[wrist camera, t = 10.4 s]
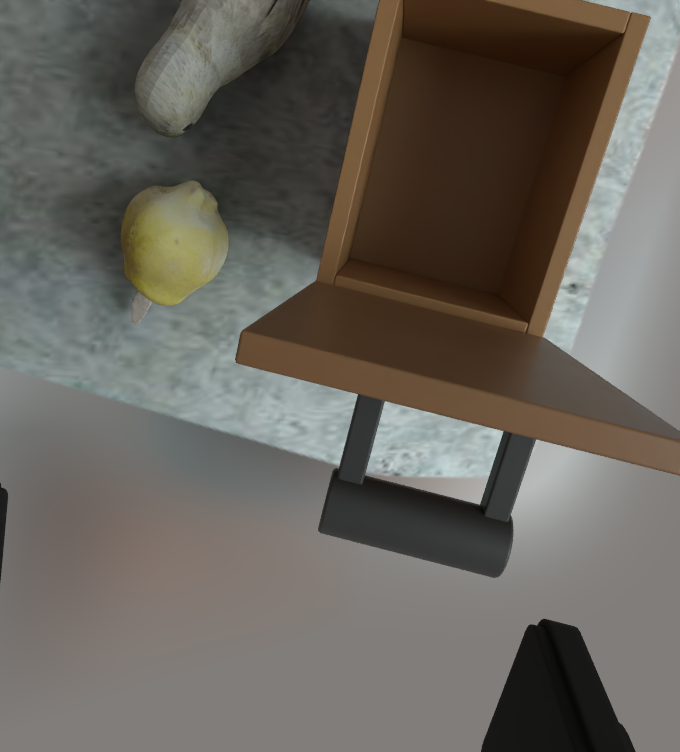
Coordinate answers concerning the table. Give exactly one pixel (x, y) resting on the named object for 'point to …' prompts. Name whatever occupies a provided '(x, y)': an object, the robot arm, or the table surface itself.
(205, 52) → the decorative bird
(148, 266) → the fruit
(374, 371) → the drawer panel with handle
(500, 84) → the brown wooden open box
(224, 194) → the table surface
